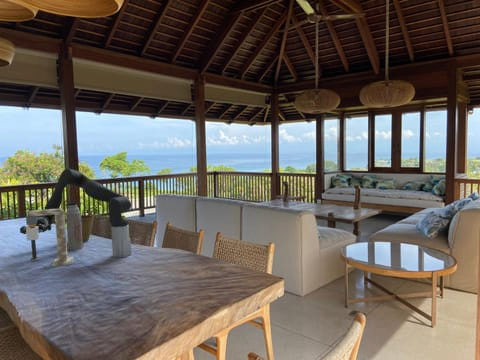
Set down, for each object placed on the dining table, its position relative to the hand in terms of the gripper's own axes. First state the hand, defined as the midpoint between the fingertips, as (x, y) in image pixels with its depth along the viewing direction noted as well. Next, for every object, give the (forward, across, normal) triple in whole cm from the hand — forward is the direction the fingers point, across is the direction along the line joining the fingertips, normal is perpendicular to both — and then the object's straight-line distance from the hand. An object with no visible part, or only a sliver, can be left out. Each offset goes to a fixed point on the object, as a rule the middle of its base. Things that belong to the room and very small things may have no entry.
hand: (33, 231), depth 175 cm
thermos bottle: (-22, +17, +18) cm, 33 cm away
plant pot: (-39, +20, +18) cm, 47 cm away
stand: (+4, +8, +18) cm, 20 cm away
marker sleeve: (+3, 0, +3) cm, 5 cm away
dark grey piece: (+3, 0, +15) cm, 15 cm away
